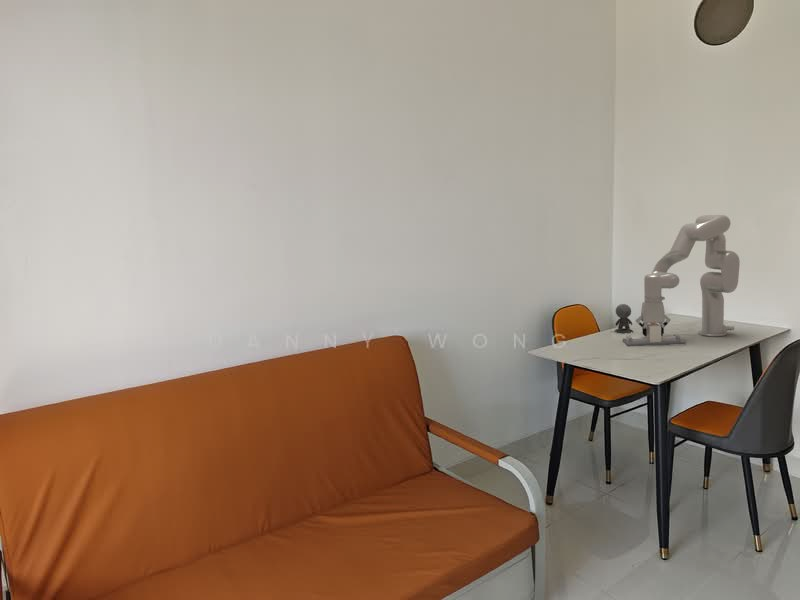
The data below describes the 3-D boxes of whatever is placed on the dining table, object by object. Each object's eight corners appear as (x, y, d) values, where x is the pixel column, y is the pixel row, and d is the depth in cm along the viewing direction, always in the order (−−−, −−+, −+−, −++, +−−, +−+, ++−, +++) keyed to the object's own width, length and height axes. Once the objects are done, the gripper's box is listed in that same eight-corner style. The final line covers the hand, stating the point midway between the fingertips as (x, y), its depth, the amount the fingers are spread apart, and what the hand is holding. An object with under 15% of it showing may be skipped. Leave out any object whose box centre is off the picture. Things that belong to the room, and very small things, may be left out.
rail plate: (677, 339, 274) (677, 332, 273) (685, 344, 263) (685, 337, 262) (622, 340, 278) (622, 334, 278) (627, 346, 268) (627, 339, 267)
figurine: (629, 329, 302) (629, 302, 300) (635, 333, 293) (634, 305, 290) (613, 330, 303) (612, 303, 301) (618, 334, 293) (618, 306, 291)
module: (656, 338, 274) (656, 320, 273) (661, 342, 266) (661, 323, 265) (645, 338, 275) (645, 321, 273) (650, 342, 267) (650, 324, 266)
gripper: (669, 297, 269) (669, 333, 272) (632, 299, 273) (632, 334, 275) (674, 300, 262) (674, 336, 265) (635, 301, 265) (636, 337, 268)
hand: (653, 335), depth 270 cm, fingers open, 6 cm apart
